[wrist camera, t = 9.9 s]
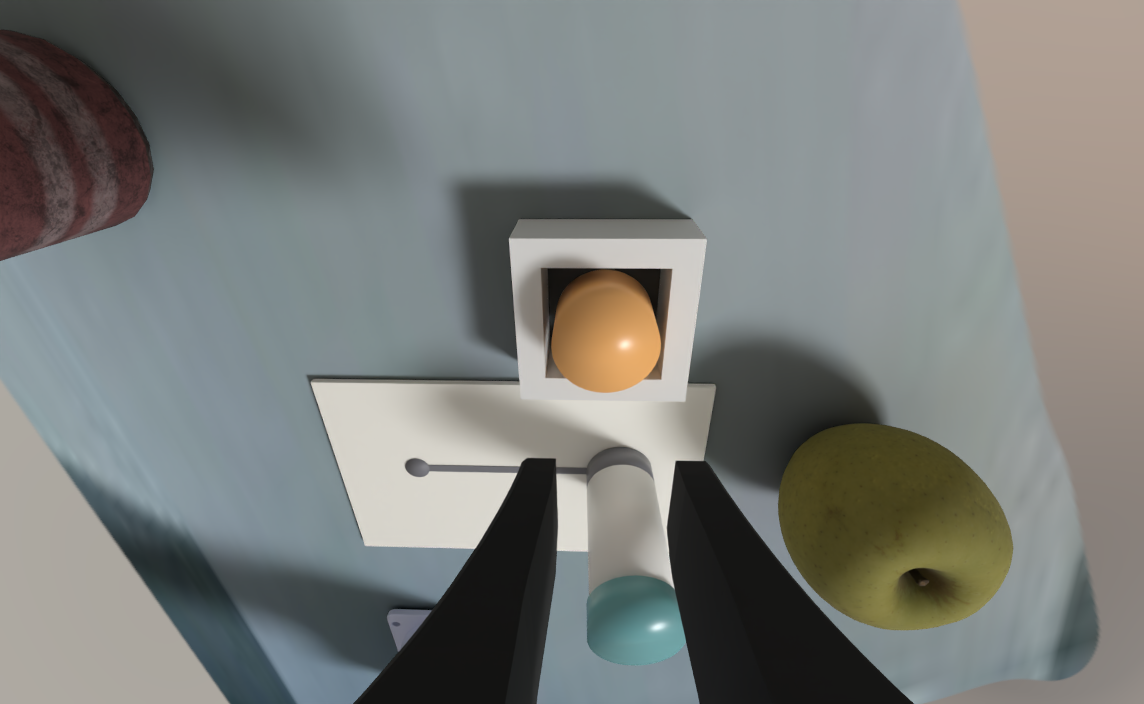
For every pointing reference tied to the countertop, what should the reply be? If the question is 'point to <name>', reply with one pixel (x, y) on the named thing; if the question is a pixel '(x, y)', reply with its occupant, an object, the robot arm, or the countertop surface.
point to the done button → (605, 332)
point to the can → (63, 149)
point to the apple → (892, 527)
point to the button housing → (606, 247)
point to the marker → (628, 563)
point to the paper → (488, 452)
